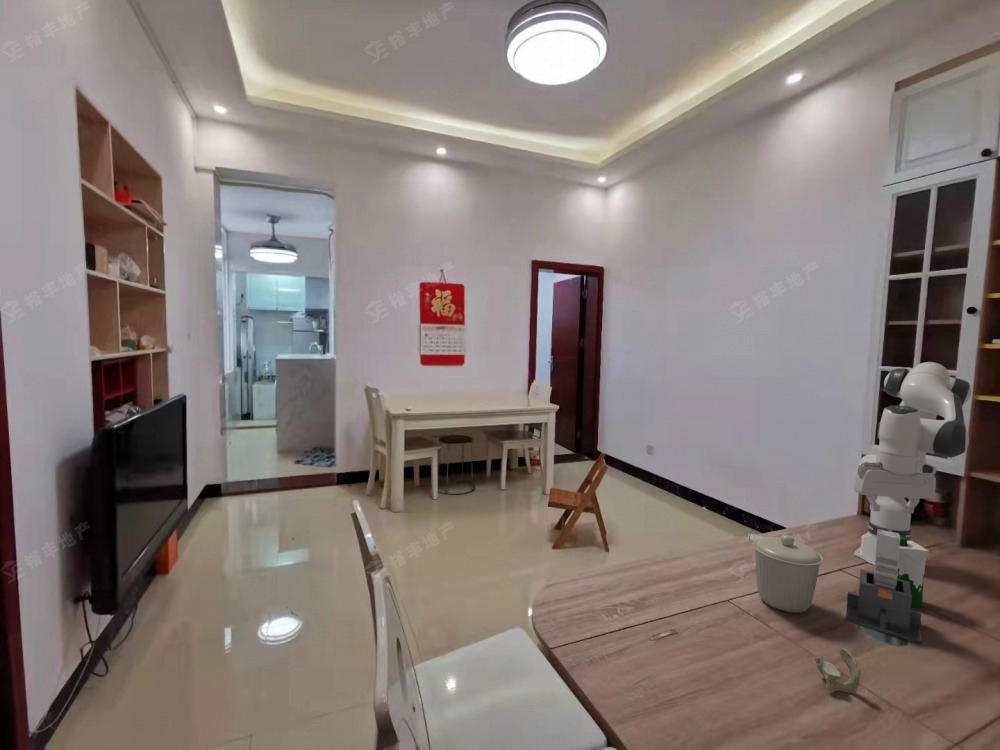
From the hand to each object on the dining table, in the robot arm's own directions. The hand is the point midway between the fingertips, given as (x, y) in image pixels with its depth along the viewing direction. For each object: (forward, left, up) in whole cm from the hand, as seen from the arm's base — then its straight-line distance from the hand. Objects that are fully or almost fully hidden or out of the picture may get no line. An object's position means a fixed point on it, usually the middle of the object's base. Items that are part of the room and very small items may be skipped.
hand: (891, 511), depth 128 cm
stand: (0, 0, -32) cm, 32 cm away
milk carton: (-18, +5, -32) cm, 37 cm away
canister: (+10, -23, -32) cm, 41 cm away
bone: (+43, -9, -32) cm, 54 cm away
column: (+1, 0, -31) cm, 31 cm away
